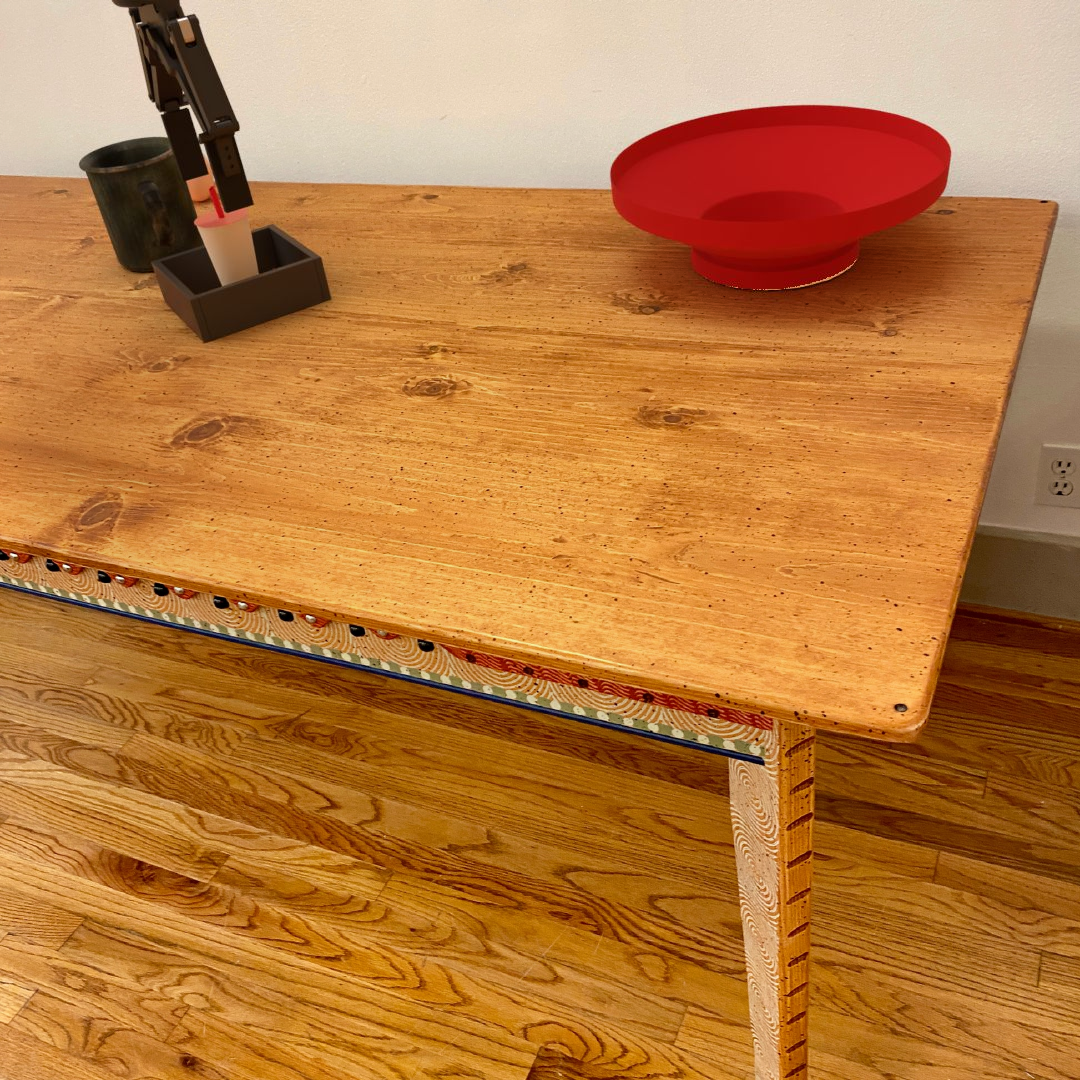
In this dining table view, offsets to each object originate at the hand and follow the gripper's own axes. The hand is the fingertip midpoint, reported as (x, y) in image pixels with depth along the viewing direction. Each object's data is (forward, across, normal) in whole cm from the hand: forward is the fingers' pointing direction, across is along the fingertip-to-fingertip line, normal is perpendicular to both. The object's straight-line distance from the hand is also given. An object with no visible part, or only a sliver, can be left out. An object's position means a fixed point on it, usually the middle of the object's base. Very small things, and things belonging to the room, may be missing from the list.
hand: (216, 192), depth 106 cm
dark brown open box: (+11, 0, 0) cm, 11 cm away
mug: (+11, +19, +3) cm, 22 cm away
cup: (+12, 0, 0) cm, 12 cm away
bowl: (+12, -32, -43) cm, 55 cm away
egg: (+12, +37, -7) cm, 39 cm away
